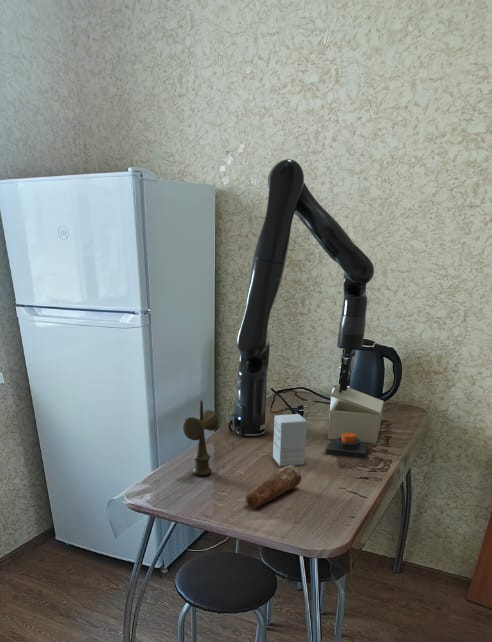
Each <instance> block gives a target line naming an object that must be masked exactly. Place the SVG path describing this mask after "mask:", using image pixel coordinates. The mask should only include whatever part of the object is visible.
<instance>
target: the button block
mask: <svg viewBox="0 0 492 642" xmlns="http://www.w3.org/2000/svg"><path fill="white" fill-rule="evenodd" d="M368 447H369V443H368V442H360V440H359V439H358V438H355V442H354V443H346V442H342V441H341V437H339V438H337V439H330V440H329V443H328V445H327V447H326V449H325V455H331V456H339V457H348V458H350V457H351V458H357V459H358V458H359V459H365V458H366V455H367V451H368Z"/></svg>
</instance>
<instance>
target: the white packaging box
mask: <svg viewBox="0 0 492 642" xmlns="http://www.w3.org/2000/svg"><path fill="white" fill-rule="evenodd" d="M307 427H308V421H307V420H306V419H305V417H303V416H302V415H301V414H300V413H295V414H294V413H293V414H277V415H275V414H274V424H273V448H272V458H273V459H274V461H275V462H276V464H277V465H278V466H279V467H286V466H290V465H294V466H301V465H305V461H306V459H305V458H306V444H307V432H308V431H307V430H308V428H307Z"/></svg>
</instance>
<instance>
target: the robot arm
mask: <svg viewBox="0 0 492 642" xmlns="http://www.w3.org/2000/svg"><path fill="white" fill-rule="evenodd" d="M267 187H268V197H267V204H266V210H265V211H266V212H265V218H264V221H263V224H262V227H261V230H260V233H259V235H258V239H257V242H256V245H255V249H254V253H253V258H252V261H251V267H250V273H249V278H248V279H249V280H248V287H247V295H246V303H245V309H244V313H243V317H242V321H241V323H240V326H239V329H238V334H237V336H236V342H235V344H236V348H237V352H238V353H239V359H238V360H239V361H238V366H237V367H238V368H237V373H236V375H237V376H236V378H237V379H236V381H237V382H236V383H237V384H236V402H234V409H233V410H234V411H233V413H231V414H229V420H228V421H229V422H228V424H227V428H228V430H229V431H230V432H229V433H233V432H234V433H236V434H237V435H238V436H239V437H250V438H251V437H260V436H263V435H265V434H266V428H267V427H266V424H267V423H266V411H267V410H266V409H267V387H268V385H267V384H268V372H269V364H270V345H271V340H270V339H271V338H270V334H269V331H268V328H269V323H270V322H269V321H270V316H271V311H272V308H273V305H274V302H275V301H276V298H277V296H278V292H279V290H280V286H281V283H282V280H283V276H284V272H285V269H286V268H285V267H286V263H287V257H288V251H289V245H290V239H291V230H292V225H293V219H294V216H296V217H297V218H298V219H299V220H300V222H302V224H303V225H304V226H305V228H306V230H308V231H309V233H310V234H311V236H312V237H313V239H314V240H316V242H317V243H318V245H319V246H320V247H321V249H323V251H324V252H325V253H326V254H327V255H328V256H329V258H330V259H331V260H333V262H335V263H336V264H338V265H339V267H340V268H341V269H342V270H343V300H342V306H341V316H340V320H339V324H338V325H339V326H338V334H337V343H336V347H337V348H339V349H343V350H344V351H343V352H342V354H341V355H340V366H339V369H340V371H339V377H340V382H339V384H340V390H343V391H346V390H347V386H350V385H351V378H352V373H353V370H354V367H355V361H356V356H357V354H356V350H360V349H362V348H363V346H364V338H365V330H366V322H367V321H366V317H367V310H368V295H367V284H368V283H370V282H371V280H372V279H373V277H374V275H375V267H374V264H373V262H372V260H371V259H370V258H369V257H368V255H366V253H364V251H363V250H362V249H360V248H359V246H357V245H356V243H354V241H353V240H352V239H351V237H350V235H349V234H348V233H347V231H345V229H344V228H343V226H341V225H340V223H339V222H338V221H337V220H336V219H335V218H334V217H333V216H332V215H331V214H330V212H328V210H326V209H325V208H324V207H323V206H322V205H321V204H320V203H319V201H318V200H317V199H316V198H315V196H314V195H313V194H312V193H311V191H310V190H309V188H308V186H307V185H306V182H305V173H304V170H303V168H302V166H301V165H300V164H299V162H298V161H296V160H294V159H292V158H291V159H290V158H285V159H281V160H280V161H278V162H276V163H275V164H274V165H273V166H272V167H271V169H270V171H269V173H268V176H267ZM348 378H349V381H348ZM231 426H233V429H232V427H231Z"/></svg>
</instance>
